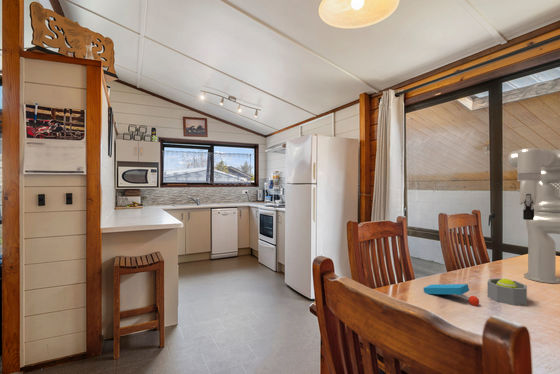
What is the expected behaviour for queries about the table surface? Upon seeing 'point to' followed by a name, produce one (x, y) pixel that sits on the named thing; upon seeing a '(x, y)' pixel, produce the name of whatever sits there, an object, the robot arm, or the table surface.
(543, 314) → the table surface
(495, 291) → the gray octagonal bowl
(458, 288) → the lever
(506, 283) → the tennis ball
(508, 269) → the table surface
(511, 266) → the table surface
